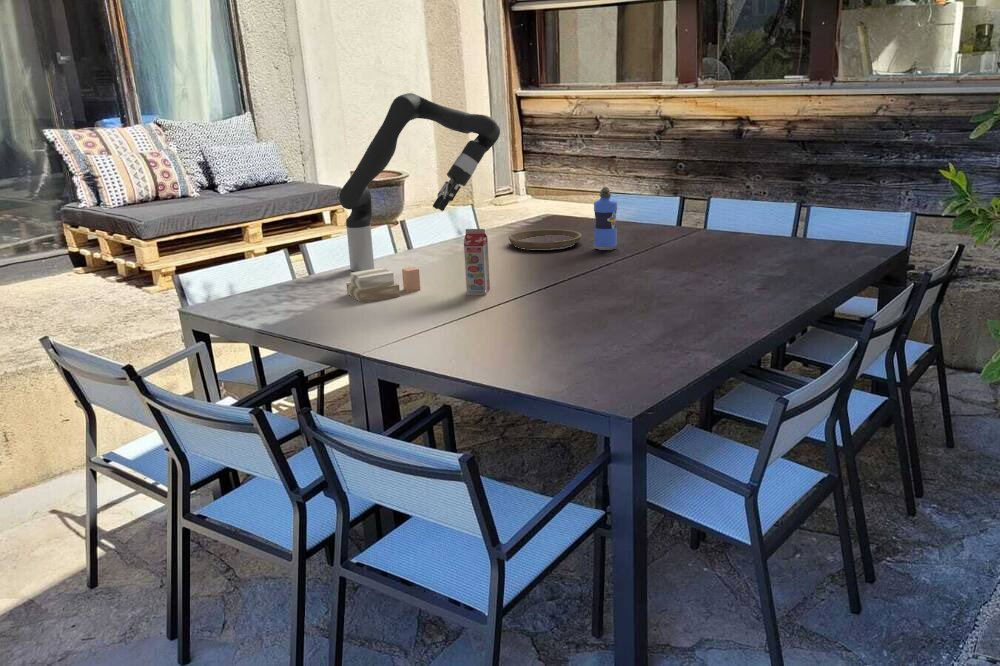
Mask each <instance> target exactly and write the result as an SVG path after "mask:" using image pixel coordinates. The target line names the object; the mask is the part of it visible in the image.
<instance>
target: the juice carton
mask: <svg viewBox="0 0 1000 666" xmlns="http://www.w3.org/2000/svg"><path fill="white" fill-rule="evenodd" d="M488 240H489V239H488V235H487V234H486V228H465V235H464V238H463V251H464V252H463V253H464V266H465V267H464V268H465V269H464V272H465V285H466V289H465V290H466V295H468V296H486V295H488V293H489V292H490V291H491V286H490V285H491V282H490V264H489V263H490V262H489V242H488ZM485 290H486V292H485ZM489 290H490V291H489Z"/></svg>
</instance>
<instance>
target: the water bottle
mask: <svg viewBox="0 0 1000 666" xmlns="http://www.w3.org/2000/svg"><path fill="white" fill-rule="evenodd" d="M611 193H612V192H611V190H610V189H609V187H606V186H605V187H602V188H601V189H600V194H599V199H598V200H596V201H594V202H593V211H594V218H595V219H594V220H595V224H594V247H595V246H597V247H612V246H616V245H617V246H618V239H617V238H618V236H617V235H618V229H617V228H618V227H617V222H616V221H617V220H616V219H617V211H618V202H617V201H616V200H614V199H611V195H612V194H611Z"/></svg>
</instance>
